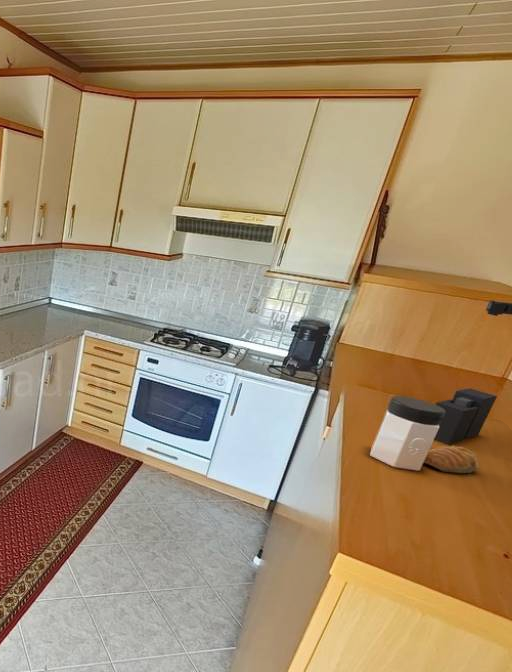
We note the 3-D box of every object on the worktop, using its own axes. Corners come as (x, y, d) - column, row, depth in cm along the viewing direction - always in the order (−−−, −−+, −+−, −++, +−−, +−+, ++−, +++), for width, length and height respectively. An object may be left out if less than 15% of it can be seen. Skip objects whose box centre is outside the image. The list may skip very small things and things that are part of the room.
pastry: (447, 477, 91) (456, 459, 90) (409, 459, 97) (416, 442, 96) (478, 473, 94) (487, 455, 93) (439, 456, 100) (447, 439, 99)
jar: (381, 466, 92) (406, 408, 88) (358, 447, 100) (380, 392, 96) (432, 474, 91) (460, 415, 87) (405, 454, 99) (429, 399, 95)
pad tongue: (451, 426, 118) (469, 388, 114) (477, 435, 114) (497, 396, 110) (432, 431, 113) (450, 391, 110) (458, 441, 109) (478, 400, 105)
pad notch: (436, 430, 114) (450, 399, 111) (462, 440, 110) (478, 407, 107) (422, 434, 111) (436, 402, 108) (448, 444, 106) (464, 411, 104)
